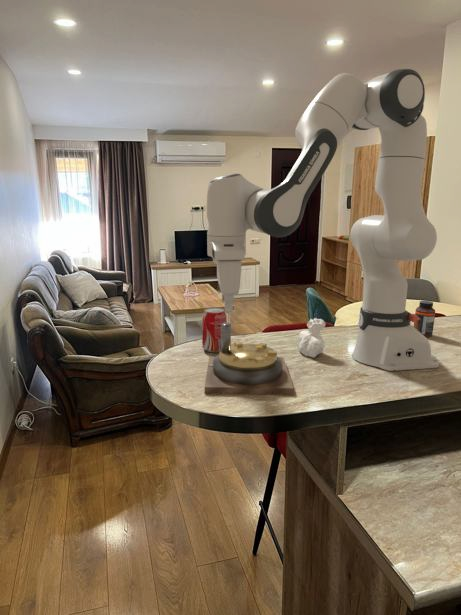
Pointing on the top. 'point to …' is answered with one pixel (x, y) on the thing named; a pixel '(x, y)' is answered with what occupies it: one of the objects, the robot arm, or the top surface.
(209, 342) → the soda can
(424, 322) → the supplement bottle
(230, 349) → the gold dial with handle
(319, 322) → the white tied sack
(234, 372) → the cap housing
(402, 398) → the top surface
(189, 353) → the top surface
